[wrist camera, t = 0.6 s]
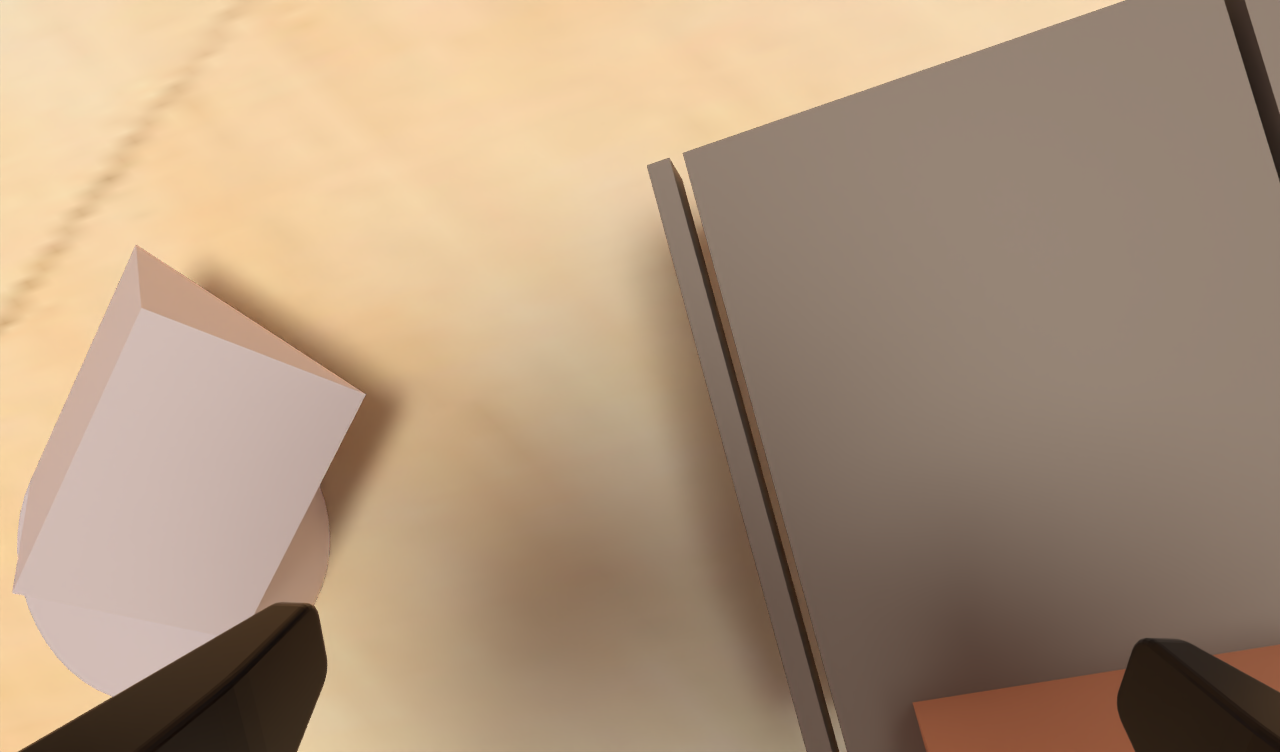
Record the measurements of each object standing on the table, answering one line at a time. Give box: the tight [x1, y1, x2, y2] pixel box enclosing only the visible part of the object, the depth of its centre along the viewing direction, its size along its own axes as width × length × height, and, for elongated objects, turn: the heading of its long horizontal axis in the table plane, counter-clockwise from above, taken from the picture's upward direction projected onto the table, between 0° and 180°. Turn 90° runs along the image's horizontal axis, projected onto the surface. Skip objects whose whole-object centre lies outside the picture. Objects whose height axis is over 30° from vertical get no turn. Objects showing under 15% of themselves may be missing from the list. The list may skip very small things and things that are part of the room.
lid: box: [647, 0, 1280, 752], centre depth 13 cm, size 15×12×5 cm
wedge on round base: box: [12, 245, 366, 697], centre depth 21 cm, size 9×7×13 cm
